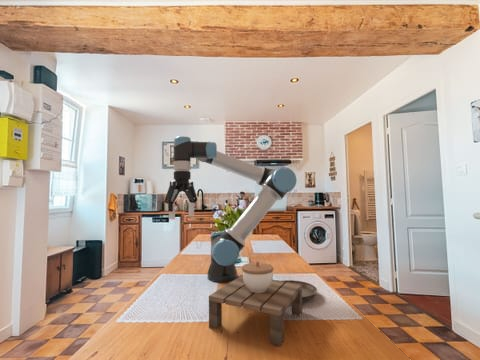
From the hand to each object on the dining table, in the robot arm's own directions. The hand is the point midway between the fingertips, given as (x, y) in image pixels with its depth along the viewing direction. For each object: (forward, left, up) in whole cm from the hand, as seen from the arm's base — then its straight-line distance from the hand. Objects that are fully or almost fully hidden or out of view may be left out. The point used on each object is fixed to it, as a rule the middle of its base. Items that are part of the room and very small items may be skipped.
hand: (182, 217), depth 122 cm
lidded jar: (+11, +42, -22) cm, 48 cm away
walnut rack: (+11, +42, -32) cm, 54 cm away
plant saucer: (-15, +46, -32) cm, 58 cm away
